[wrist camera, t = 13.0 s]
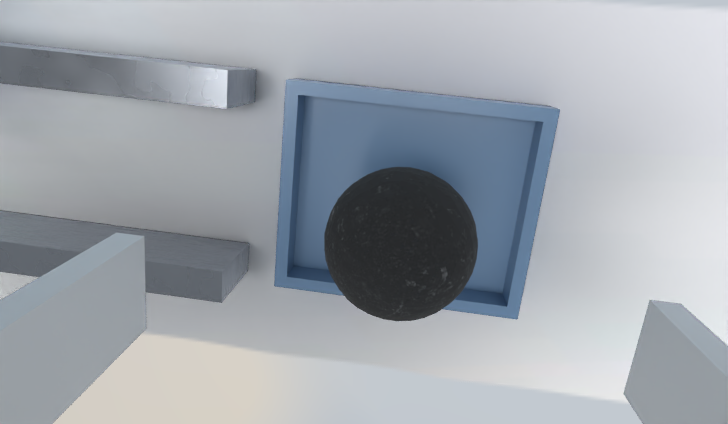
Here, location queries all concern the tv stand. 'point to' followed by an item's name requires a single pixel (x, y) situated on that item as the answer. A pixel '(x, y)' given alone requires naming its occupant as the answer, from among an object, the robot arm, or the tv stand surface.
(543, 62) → the tv stand surface
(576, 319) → the tv stand surface
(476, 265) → the parts tray
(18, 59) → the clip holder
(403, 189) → the black round speckled part
